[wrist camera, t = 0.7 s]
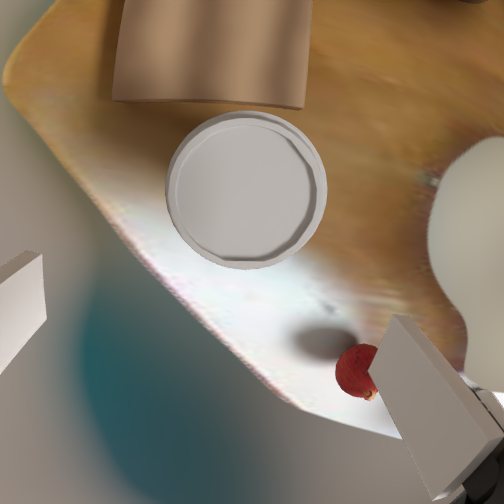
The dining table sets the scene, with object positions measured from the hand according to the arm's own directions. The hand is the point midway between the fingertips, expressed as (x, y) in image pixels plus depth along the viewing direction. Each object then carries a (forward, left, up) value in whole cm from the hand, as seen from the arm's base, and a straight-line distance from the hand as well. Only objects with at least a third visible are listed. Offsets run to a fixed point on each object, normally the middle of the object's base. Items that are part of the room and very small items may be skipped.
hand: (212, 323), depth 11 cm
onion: (-15, +16, -20) cm, 30 cm away
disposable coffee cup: (-1, -3, -20) cm, 20 cm away
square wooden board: (+3, -17, -20) cm, 26 cm away
